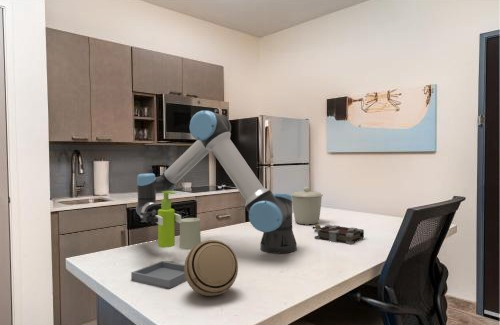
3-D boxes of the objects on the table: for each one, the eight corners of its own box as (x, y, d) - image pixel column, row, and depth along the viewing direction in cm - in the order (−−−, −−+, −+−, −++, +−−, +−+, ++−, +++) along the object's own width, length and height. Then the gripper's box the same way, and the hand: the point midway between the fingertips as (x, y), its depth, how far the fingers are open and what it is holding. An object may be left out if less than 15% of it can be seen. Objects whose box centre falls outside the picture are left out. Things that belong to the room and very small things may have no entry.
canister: (326, 226, 189) (325, 187, 188) (292, 226, 189) (292, 188, 189) (319, 220, 207) (319, 185, 206) (289, 220, 207) (289, 185, 207)
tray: (197, 274, 113) (197, 267, 113) (169, 289, 101) (169, 280, 101) (162, 267, 121) (161, 260, 121) (131, 280, 109) (131, 272, 109)
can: (196, 249, 145) (196, 220, 145) (176, 248, 147) (175, 220, 146) (204, 243, 154) (203, 216, 154) (184, 243, 156) (184, 216, 156)
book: (351, 245, 149) (351, 233, 149) (301, 237, 165) (301, 226, 165) (364, 239, 160) (364, 228, 160) (316, 232, 176) (316, 222, 176)
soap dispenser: (168, 248, 122) (168, 192, 122) (154, 246, 126) (154, 191, 125) (180, 245, 127) (179, 190, 127) (166, 242, 131) (166, 189, 130)
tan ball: (174, 300, 93) (173, 245, 93) (201, 281, 107) (200, 233, 107) (224, 308, 88) (223, 249, 87) (246, 287, 102) (245, 236, 101)
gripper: (175, 219, 146) (196, 227, 127) (129, 224, 137) (144, 234, 117) (175, 201, 146) (196, 207, 126) (128, 205, 137) (143, 212, 117)
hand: (171, 220), depth 122 cm, fingers closed on soap dispenser, 6 cm apart
